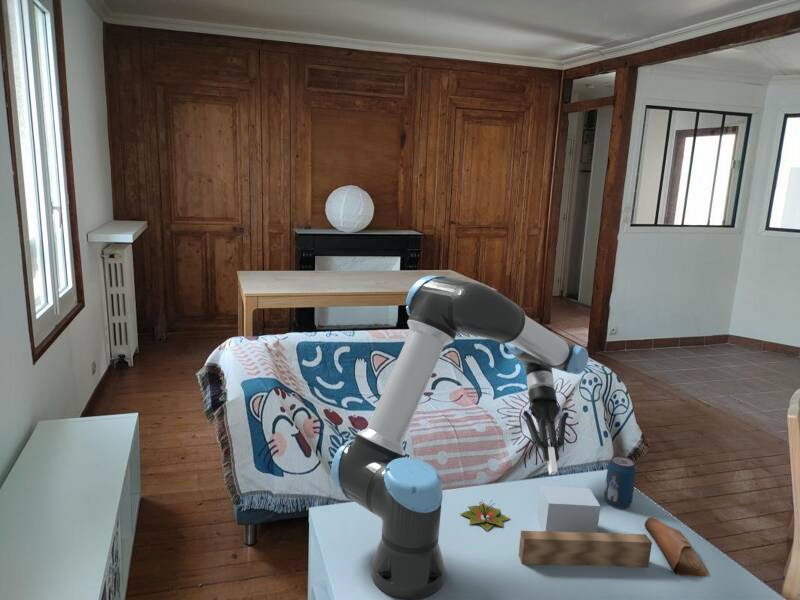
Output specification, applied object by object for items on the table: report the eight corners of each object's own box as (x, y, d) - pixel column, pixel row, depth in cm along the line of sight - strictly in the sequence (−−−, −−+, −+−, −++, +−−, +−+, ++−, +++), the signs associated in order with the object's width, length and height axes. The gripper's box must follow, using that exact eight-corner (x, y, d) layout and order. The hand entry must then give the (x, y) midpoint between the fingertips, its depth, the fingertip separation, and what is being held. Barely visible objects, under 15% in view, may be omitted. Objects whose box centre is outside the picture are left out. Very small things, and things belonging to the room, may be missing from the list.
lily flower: (450, 515, 142) (451, 498, 141) (482, 500, 150) (484, 484, 149) (487, 539, 133) (488, 521, 132) (519, 522, 141) (521, 505, 140)
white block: (544, 538, 134) (548, 503, 132) (537, 519, 142) (540, 485, 140) (595, 541, 134) (600, 506, 132) (585, 521, 142) (589, 488, 140)
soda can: (630, 499, 154) (636, 457, 152) (632, 512, 147) (638, 469, 145) (603, 493, 156) (608, 452, 154) (603, 506, 149) (609, 463, 147)
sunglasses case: (713, 578, 123) (701, 552, 122) (682, 590, 124) (670, 565, 123) (678, 529, 140) (667, 507, 140) (651, 540, 141) (640, 518, 140)
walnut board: (521, 563, 124) (524, 538, 123) (518, 555, 127) (521, 530, 126) (648, 567, 125) (652, 542, 124) (642, 558, 128) (645, 534, 127)
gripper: (522, 383, 159) (532, 467, 146) (568, 385, 160) (582, 469, 147) (515, 394, 166) (525, 476, 152) (560, 396, 166) (573, 478, 153)
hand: (553, 473), depth 150 cm, fingers closed
